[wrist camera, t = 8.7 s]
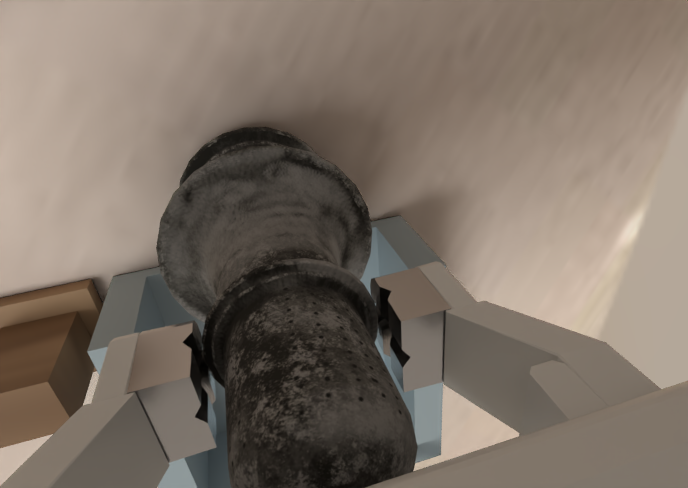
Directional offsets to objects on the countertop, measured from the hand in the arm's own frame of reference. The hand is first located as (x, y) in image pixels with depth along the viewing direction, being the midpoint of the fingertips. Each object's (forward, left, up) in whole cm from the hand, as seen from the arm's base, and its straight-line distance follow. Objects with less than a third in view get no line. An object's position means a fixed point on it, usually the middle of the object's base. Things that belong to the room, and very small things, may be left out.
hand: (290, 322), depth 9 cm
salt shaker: (0, 0, -7) cm, 7 cm away
